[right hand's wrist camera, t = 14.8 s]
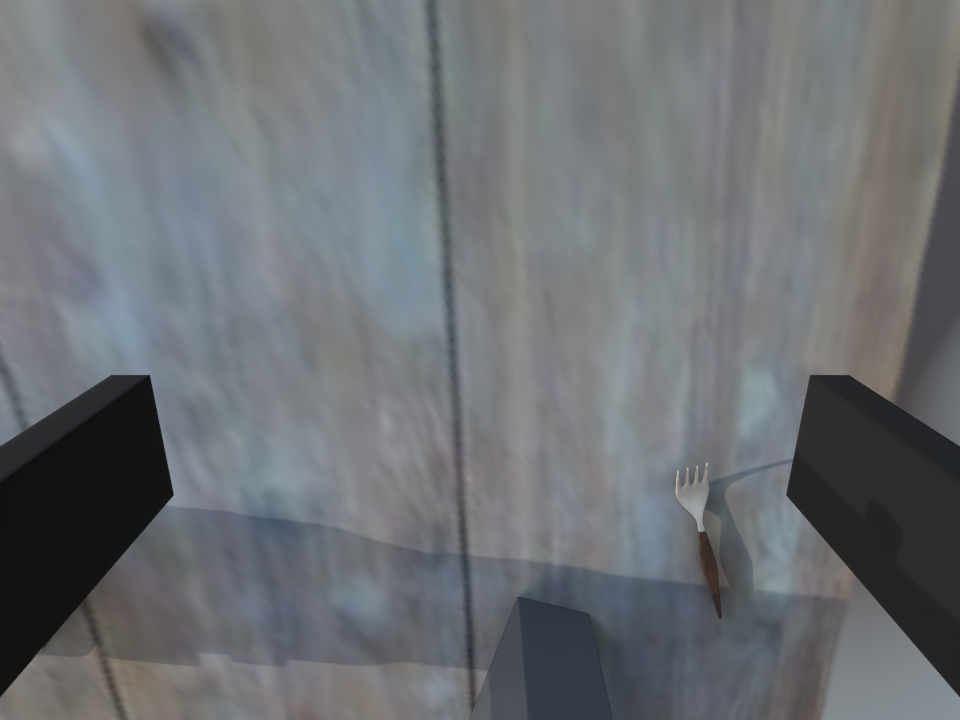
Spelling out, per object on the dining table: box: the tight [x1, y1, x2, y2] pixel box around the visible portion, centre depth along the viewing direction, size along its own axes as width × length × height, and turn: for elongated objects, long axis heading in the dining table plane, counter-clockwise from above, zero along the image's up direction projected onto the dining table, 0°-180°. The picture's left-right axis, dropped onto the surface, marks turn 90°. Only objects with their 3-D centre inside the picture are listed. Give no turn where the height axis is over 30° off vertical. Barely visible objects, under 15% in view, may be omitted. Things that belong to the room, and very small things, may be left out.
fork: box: [676, 463, 722, 619], centre depth 48 cm, size 3×16×2 cm, turn 17°
